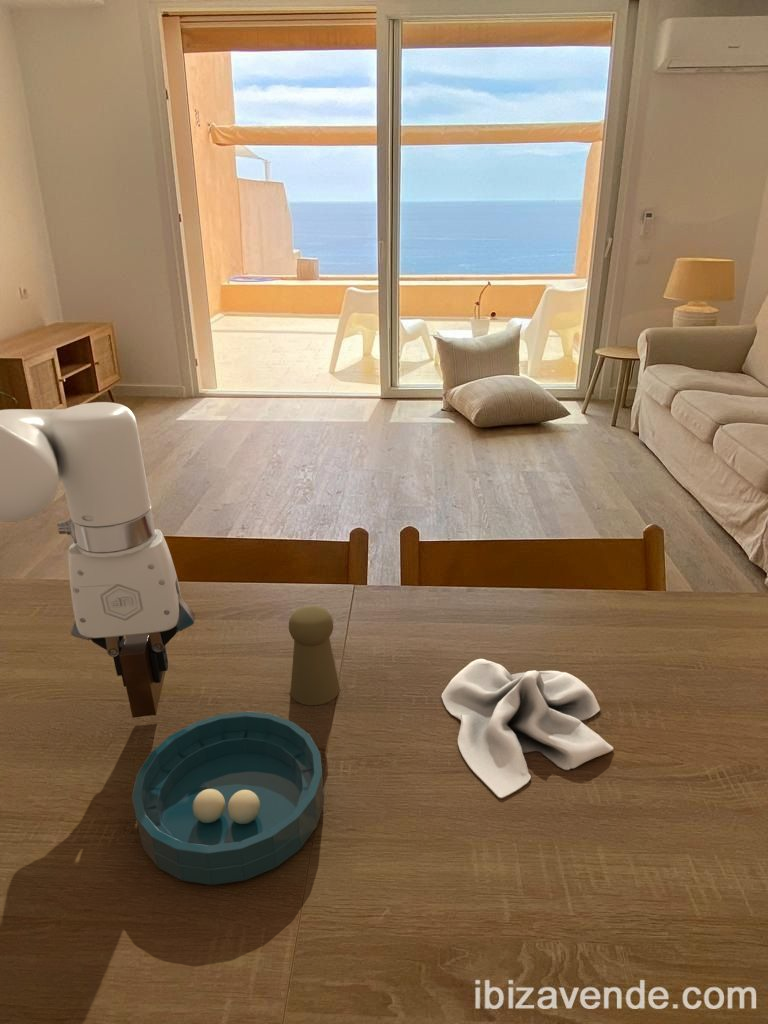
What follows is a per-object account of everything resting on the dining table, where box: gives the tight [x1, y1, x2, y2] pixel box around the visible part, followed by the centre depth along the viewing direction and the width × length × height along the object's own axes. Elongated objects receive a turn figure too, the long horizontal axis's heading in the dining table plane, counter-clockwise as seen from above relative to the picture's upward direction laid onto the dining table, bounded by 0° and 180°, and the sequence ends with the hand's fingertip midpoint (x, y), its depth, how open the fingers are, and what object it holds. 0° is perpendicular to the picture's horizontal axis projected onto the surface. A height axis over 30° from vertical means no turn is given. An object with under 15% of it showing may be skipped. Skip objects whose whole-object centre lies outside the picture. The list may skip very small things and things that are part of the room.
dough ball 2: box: [228, 790, 260, 824], centre depth 66 cm, size 3×3×3 cm
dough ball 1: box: [193, 789, 225, 823], centre depth 66 cm, size 3×3×3 cm
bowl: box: [131, 710, 325, 886], centre depth 67 cm, size 18×18×4 cm
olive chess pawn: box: [288, 605, 341, 706], centre depth 83 cm, size 6×6×11 cm
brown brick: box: [119, 633, 167, 718], centre depth 77 cm, size 2×8×8 cm, turn 9°
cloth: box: [441, 658, 614, 799], centre depth 78 cm, size 22×19×6 cm
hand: (144, 675), depth 77 cm, fingers closed on brown brick, 2 cm apart
